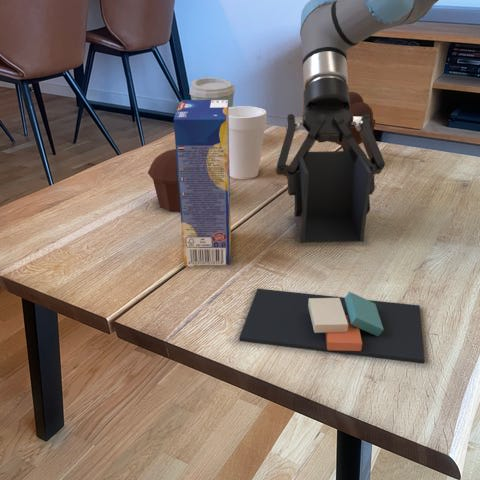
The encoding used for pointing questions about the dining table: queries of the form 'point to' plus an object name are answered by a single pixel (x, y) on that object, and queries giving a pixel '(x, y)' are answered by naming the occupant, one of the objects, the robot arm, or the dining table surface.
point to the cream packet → (327, 315)
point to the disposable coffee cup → (212, 90)
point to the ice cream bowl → (358, 114)
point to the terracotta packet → (345, 339)
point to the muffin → (166, 180)
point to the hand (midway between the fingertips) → (332, 213)
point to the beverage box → (204, 180)
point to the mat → (302, 333)
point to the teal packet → (363, 314)
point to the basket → (333, 197)
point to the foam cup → (245, 140)
